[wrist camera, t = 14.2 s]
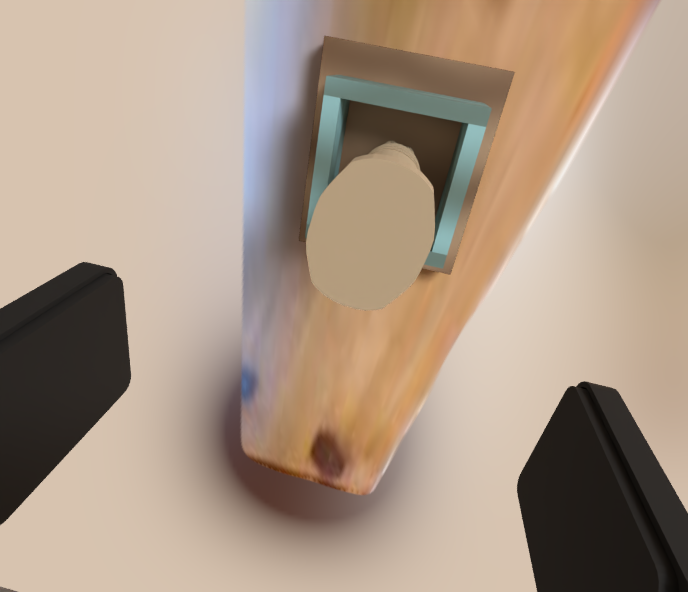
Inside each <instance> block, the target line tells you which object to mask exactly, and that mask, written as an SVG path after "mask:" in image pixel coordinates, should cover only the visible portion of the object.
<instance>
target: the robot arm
mask: <svg viewBox="0 0 688 592" xmlns="http://www.w3.org/2000/svg"><path fill="white" fill-rule="evenodd" d="M130 379H131V371H130V358H129V347H128V335H127V324H126V312H125V301H124V289H123V282H122V280H121V278H119V277H117V274H116V272H115V271H114V270H113V269H112V268H108V267H104V266H100V265H96V264H91V263H87V262H82V263H80V264H78V265H76V266H74V267H72V268H71V269H69V270H67V271H65V272H64V273H62V274H60V275H58V276H57V277H55V278H53V279H51V280H50V281H48V282H46V283H45V284H43V285H41V286H39V287H37V288H36V289H34V290H32V291H30V292H29V293H27V294H25V295H24V296H22V297H20V298H18V299H17V300H15V301H13V302H11V303H10V304H8V305H6V306H4V307H3V308H1V309H0V525H1V524H2V523H4V522H5V521H6V520H7V519H8V518H9V517H10V515H12V513H13V512H14V511H15V510H16V509H17V508H18V507H19V506H20V505H21V504H22V503H23V501H24V500H25V499H26V498H27V497H28V496H29V495H30V494H31V493H32V492H33V491H34V490H35V488H37V486H38V485H39V484H40V483H41V482H42V481H43V480H44V479H45V478H46V477H47V475H49V473H50V472H51V471H52V470H53V469H54V468H55V467H56V466H57V465H58V464H59V463H60V462H61V460H62V459H63V458H64V457H65V456H66V455H67V454H68V453H69V451H71V450H72V448H74V446H75V445H76V444H77V443H78V442H79V441H80V440H81V439H82V438H83V437H84V436H85V435H86V433H87V432H88V431H89V430H90V429H91V428H92V427H93V426H94V425H95V424H96V423H97V422H98V420H99V419H100V418H101V417H102V416H103V415H104V414H105V413H106V412H107V411H108V410H109V409H110V408H111V406H112V405H113V404H114V403H115V402H116V401H117V400H118V399H119V398H120V397H121V396H122V395H123V393H124V392H125V391H126V390H127V388H128V386H129V383H130ZM517 493H518V499H519V503H520V508H521V514H522V519H523V524H524V528H525V533H526V538H527V543H528V548H529V553H530V558H531V562H532V568H533V573H534V578H535V582H536V588H537V592H688V513H687V511H686V509H685V508H684V506H683V504H682V502H681V501H680V499H679V497H678V496H677V494H676V492H675V490H674V488H673V487H672V485H671V483H670V482H669V480H668V478H667V476H666V474H665V473H664V471H663V469H662V468H661V466H660V464H659V462H658V461H657V459H656V457H655V455H654V454H653V452H652V450H651V448H650V446H649V445H648V443H647V441H646V440H645V438H644V436H643V434H642V433H641V431H640V429H639V427H638V426H637V424H636V422H635V420H634V419H633V417H632V415H631V413H630V412H629V410H628V408H627V406H626V405H625V403H624V401H623V399H622V398H621V396H620V394H619V393H618V391H617V390H616V389H613V388H610V387H606V386H602V385H598V384H593V383H589V382H581V383H579V384H578V385H577V386H576V387H574V386H570V387H569V388H568V389H567V390H566V392H565V393H564V395H563V397H562V399H561V401H560V402H559V404H558V406H557V408H556V410H555V412H554V413H553V415H552V417H551V419H550V421H549V423H548V425H547V426H546V428H545V430H544V432H543V434H542V435H541V437H540V439H539V441H538V443H537V445H536V446H535V448H534V450H533V452H532V454H531V456H530V457H529V459H528V461H527V463H526V465H525V467H524V468H523V470H522V472H521V474H520V476H519V479H518V484H517ZM0 592H17V591H13V590H10V589H6V588H3V587H0Z"/></svg>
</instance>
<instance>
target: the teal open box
mask: <svg viewBox="0 0 688 592" xmlns="http://www.w3.org/2000/svg"><path fill="white" fill-rule="evenodd" d="M514 73H515V72H512V71H507V70H502V69H497V68H491V67H486V66H481V65H476V64H470V63H465V62H460V61H455V60H449V59H444V58H439V57H433V56H428V55H423V54H418V53H412V52H407V51H402V50H397V49H391V48H386V47H381V46H376V45H370V44H365V43H360V42H355V41H349V40H344V39H339V38H333V37H328V36H324V44H323V52H322V59H321V67H320V75H319V83H318V91H317V99H316V107H315V115H314V123H313V131H312V139H311V147H310V155H309V163H308V171H307V179H306V187H305V195H304V203H303V211H302V219H301V227H300V235H299V241H303V242H306V239H307V234H308V229H309V226H310V223H311V219H312V216H313V213H314V210H315V207H316V205H317V202H318V200H319V198H320V196H321V194H322V193H323V191H324V190H325V189H326V188H327V186H328V185H329V184H330V183H331V182H332V181H333V180H334V179H335V177H336V176H337V175H338V174H339V173H340V172H341V171H342V170H343V169H344V168H345V167H346V166H347V165H348V164H349V163H350V162H351V161H352V160H353V159H354V158H355V157H359V156H362V155H368V154H369V153H370V152H371V151H372V150H373V149H375V148H376V147H378V146H380V145H383V144H386V142H387V141H395V142H396V143H398V144H401V145H404V146H406V147H407V146H409V147H410V148H411V149H412V150H413V151H414V155H415V156H416V158H417V160H418V163H419V166H420V171H421V172H422V173H423V174H424V175H425V176H426V177H427V179H428V180H429V181H430V183H431V184H432V186H433V189H434V208H435V233H434V241H433V244H432V247H431V250H430V252H429V254H428V256H427V259H426V261H425V263H424V265H423V267H422V268H423V269H428V270H432V271H436V272H441V273H445V274H451V271H452V268H453V265H454V262H455V259H456V256H457V252H458V249H459V246H460V243H461V240H462V237H463V234H464V230H465V227H466V224H467V221H468V218H469V215H470V211H471V208H472V205H473V202H474V199H475V196H476V193H477V189H478V186H479V183H480V180H481V177H482V174H483V171H484V167H485V164H486V161H487V158H488V155H489V152H490V148H491V145H492V142H493V139H494V136H495V133H496V130H497V126H498V123H499V120H500V117H501V114H502V111H503V108H504V104H505V101H506V98H507V95H508V92H509V89H510V85H511V82H512V79H513V76H514Z"/></svg>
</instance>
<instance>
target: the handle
mask: <svg viewBox="0 0 688 592" xmlns="http://www.w3.org/2000/svg"><path fill="white" fill-rule="evenodd" d="M434 233H435V208H434V189H433V186H432V184H431V183H430V181H429V180H428V179H427V177H426V176H425V175H424V174H423V173H422V172H421V171H420V166H419V163H418V160H417V158H416V156H415V155H414V151H413V150H412V149H411V148H410V147H409V146H407V147H406V146H404V145H401V144H398V143H396V142H395V141H387V142H386V144H383V145H380V146H378V147H376V148H375V149H373V150H372V151H371V152H370V153H369V154H368V155H362V156H359V157H355V158H354V159H353V160H352V161H351V162H350V163H349V164H348V165H347V166H346V167H345V168H344V169H343V170H342V171H341V172H340V173H339V174H338V175H337V176H336V177H335V179H334V180H333V181H332V182H331V183H330V184H329V185H328V186H327V188H326V189H325V190H324V191H323V193H322V194H321V196H320V198H319V200H318V202H317V205H316V207H315V210H314V213H313V216H312V219H311V223H310V226H309V229H308V234H307V239H306V254H307V260H308V266H309V271H310V277H311V282H312V283H313V285H314V286H315V287H316V288H317V289H318V290H319V291H320V292H321V293H322V294H323V295H324V296H326V297H327V298H329V299H331V300H332V301H334V302H336V303H339V304H341V305H343V306H346V307H349V308H353V309H358V310H364V311H368V310H379V309H383V308H385V307H386V306H387V305H388V304H390V303H391V302H392V301H394V300H395V299H396V298H398V297H399V296H400V295H401V294H402V293H404V292H405V291H406V290H407V289H408V288H409V287H410V286H411V285H412V284H413V283H414V282H415V280H416V278H417V277H418V275H419V273H420V271H421V269H422V267H423V265H424V263H425V261H426V259H427V256H428V254H429V252H430V250H431V247H432V244H433V241H434Z"/></svg>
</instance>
